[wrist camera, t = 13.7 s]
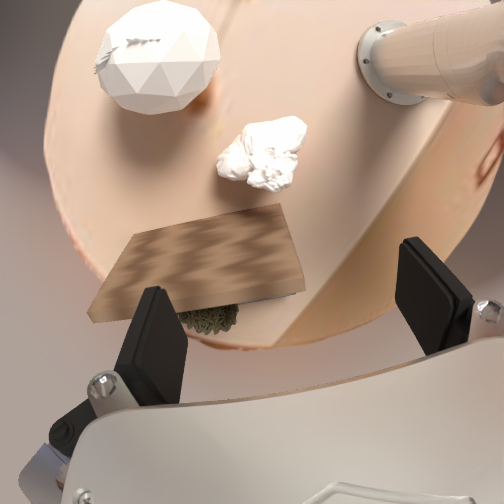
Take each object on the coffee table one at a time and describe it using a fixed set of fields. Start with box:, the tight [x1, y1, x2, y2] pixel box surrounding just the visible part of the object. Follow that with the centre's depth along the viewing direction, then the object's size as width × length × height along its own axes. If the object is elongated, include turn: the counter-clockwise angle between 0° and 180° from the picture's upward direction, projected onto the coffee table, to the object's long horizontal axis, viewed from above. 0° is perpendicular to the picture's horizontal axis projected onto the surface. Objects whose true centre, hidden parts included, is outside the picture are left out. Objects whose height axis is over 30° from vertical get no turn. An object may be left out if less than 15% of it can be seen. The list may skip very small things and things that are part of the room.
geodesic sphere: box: [94, 0, 221, 115], centre depth 26 cm, size 14×14×14 cm
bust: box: [216, 116, 307, 193], centre depth 34 cm, size 12×8×11 cm
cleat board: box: [87, 204, 306, 323], centre depth 38 cm, size 22×12×18 cm, turn 101°
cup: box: [177, 303, 239, 335], centre depth 38 cm, size 8×7×8 cm
